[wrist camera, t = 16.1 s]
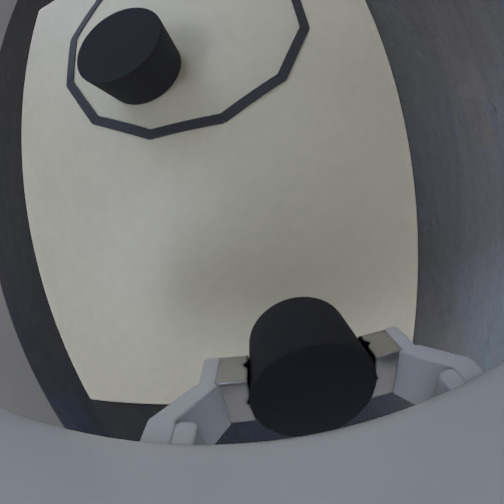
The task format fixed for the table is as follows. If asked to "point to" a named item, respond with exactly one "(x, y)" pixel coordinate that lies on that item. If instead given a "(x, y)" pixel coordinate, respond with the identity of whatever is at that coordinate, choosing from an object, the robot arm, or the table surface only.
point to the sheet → (216, 187)
